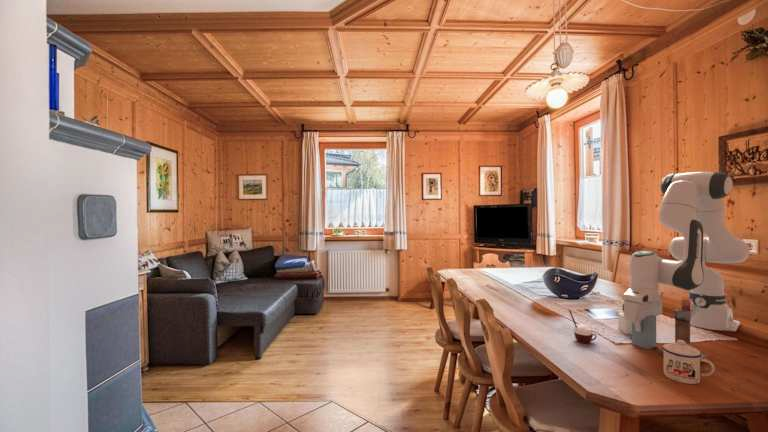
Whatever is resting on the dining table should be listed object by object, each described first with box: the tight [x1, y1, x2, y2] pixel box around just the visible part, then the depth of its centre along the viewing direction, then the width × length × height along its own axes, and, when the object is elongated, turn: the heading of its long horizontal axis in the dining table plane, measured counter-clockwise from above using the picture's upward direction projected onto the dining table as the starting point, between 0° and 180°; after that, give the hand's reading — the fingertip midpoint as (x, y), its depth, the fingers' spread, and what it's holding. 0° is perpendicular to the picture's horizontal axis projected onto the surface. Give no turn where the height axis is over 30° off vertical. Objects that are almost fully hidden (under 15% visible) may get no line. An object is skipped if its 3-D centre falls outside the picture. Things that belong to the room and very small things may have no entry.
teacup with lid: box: [662, 340, 716, 385], centre depth 106 cm, size 12×9×12 cm
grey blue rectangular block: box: [631, 315, 657, 350], centre depth 132 cm, size 6×6×12 cm
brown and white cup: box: [568, 309, 598, 344], centre depth 137 cm, size 10×6×12 cm, turn 46°
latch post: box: [658, 318, 708, 364], centre depth 121 cm, size 10×10×13 cm
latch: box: [673, 297, 699, 321], centre depth 125 cm, size 4×18×6 cm, turn 127°
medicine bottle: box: [617, 302, 632, 335], centre depth 145 cm, size 7×7×12 cm
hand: (643, 329), depth 131 cm, fingers closed on grey blue rectangular block, 6 cm apart
